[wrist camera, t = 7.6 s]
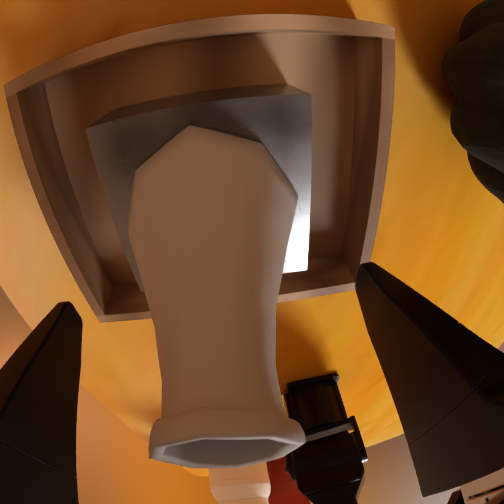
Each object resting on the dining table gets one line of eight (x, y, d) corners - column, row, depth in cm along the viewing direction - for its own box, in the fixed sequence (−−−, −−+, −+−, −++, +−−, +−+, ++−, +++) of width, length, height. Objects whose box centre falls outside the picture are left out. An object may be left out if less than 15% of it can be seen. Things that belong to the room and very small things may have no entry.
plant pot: (212, 453, 53) (219, 522, 39) (299, 444, 55) (313, 510, 42) (216, 468, 64) (222, 521, 51) (286, 461, 67) (296, 513, 54)
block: (287, 83, 13) (311, 94, 10) (290, 228, 19) (307, 269, 16) (113, 109, 13) (85, 128, 10) (150, 247, 18) (141, 291, 15)
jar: (202, 431, 42) (209, 514, 30) (260, 425, 43) (274, 508, 31) (213, 447, 49) (220, 514, 37) (262, 442, 50) (273, 509, 38)
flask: (105, 231, 13) (39, 446, 5) (183, 92, 10) (73, 285, 2) (231, 290, 16) (255, 481, 8) (324, 187, 13) (447, 394, 5)
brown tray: (360, 27, 12) (394, 26, 9) (345, 255, 22) (363, 287, 19) (38, 74, 11) (3, 85, 8) (110, 287, 21) (100, 322, 18)
